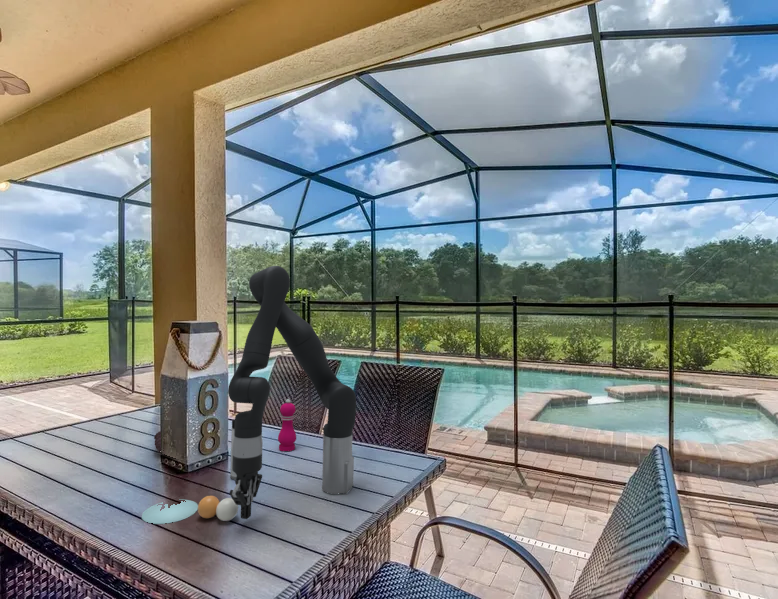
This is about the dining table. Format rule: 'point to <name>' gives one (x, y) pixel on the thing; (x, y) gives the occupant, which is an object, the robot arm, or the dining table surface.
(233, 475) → the travel mug
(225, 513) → the cue ball
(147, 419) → the dining table surface
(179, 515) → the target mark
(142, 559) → the dining table surface
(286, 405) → the pepper mill
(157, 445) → the pine cone
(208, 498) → the object ball
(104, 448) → the dining table surface
